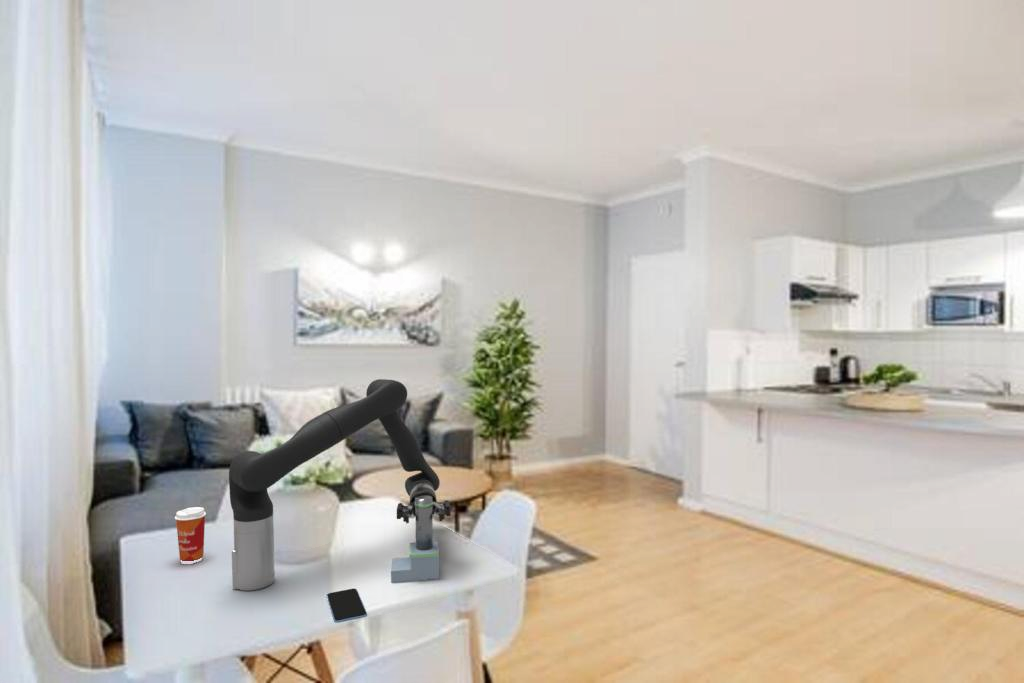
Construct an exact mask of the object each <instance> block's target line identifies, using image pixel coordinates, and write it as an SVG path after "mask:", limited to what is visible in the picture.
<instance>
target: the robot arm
mask: <svg viewBox="0 0 1024 683" xmlns="http://www.w3.org/2000/svg"><path fill="white" fill-rule="evenodd" d="M407 397H408V390H407V388H406V386H405V385H404V384H403V383H402V382H400V381H398V380H394V379H386V378H385V379H383V378H379V379H374V380H373V381H372V382H370V383H369V385H368V387H367V388H366V396H365V397H364V398H362V399H359V400H357V401H354V402H351V403H347V404H343V405H339V406H337V407H333V408H331V409H328V410H327V411H325V412H322V413H321V414H319V415H317V416H315V417H313V418H311V419H310V420H309V421H307V422H306V423H304V424H303V425H302V427H300V428H299V430H297V431H296V432H295V434H294V435H293V436H291V437H290V439H288V440H287V441H286V442H284V443H282V444H280V445H279V446H276V447H275V448H273V449H271V450H269V451H266V452H264V453H261V452H257V451H253V450H246V451H243V452H240V453H238V455H236V456H235V457H234V458H233V459H232V461H231V462H230V465H229V470H228V486H229V488H228V489H229V502H230V506H231V509H232V513H233V540H234V541H233V544H234V545H233V546H234V547H233V549H232V550H231V572H232V573H231V574H232V576H231V580H232V590H239V589H240V590H239V591H247V592H248V591H257V590H261V589H264V588H266V587H269V586H271V585H272V584H274V582H275V580H276V578H275V577H276V575H275V573H276V572H275V539H274V538H275V535H274V534H275V532H274V530H275V529H274V525H275V524H274V505H273V502H272V499H271V498H270V495H269V492H268V489H269V488H271V487H272V486H273V485H275V484H276V483H277V482H279V481H280V480H281V479H283V478H284V477H285V476H286V475H288V474H290V473H291V472H293V471H294V470H295V469H296V468H298V467H300V466H301V465H302V464H304V463H306V462H308V461H310V460H312V459H313V458H315V457H317V456H319V455H320V454H322V453H323V452H325V451H327V450H329V449H331V448H332V447H334V446H336V445H337V444H340V443H341V442H343V441H344V440H345V439H347V438H349V437H350V436H352V435H354V434H355V433H356V432H359V431H361V430H362V429H363V428H364V427H366V426H368V425H369V424H371V423H372V422H375V421H376V420H379V422H380V423H381V425H382V427H383V428H384V430H385V431H386V434H387V436H388V437H389V439H390V441H391V443H392V445H393V448H394V450H395V453H396V456H397V457H398V459H399V462H400V464H401V467H402V468H403V470H404V471H405V472H408V473H410V472H411V473H412V472H418V473H416V474H413V475H411V476H409V477H407V479H406V480H405V482H404V488H405V491H406V494H407V495H408V496H409V503H408V504H407V505H405V504H403V503H402V502H399V503H397V507H396V520H401V519H402V521H403V522H405V524H409V522H410V521H409V520H410V519H416V518H415V498H416V497H418V496H431V497H432V501H433V505H432V515H433V518H436V517H438V520H439V522H443V520H445V516H446V517H450V516H451V514H452V513H451V509H452V507H451V503H450V502H449V500H448V499H447V500H444V501H443V502H442V503H439V502H438V501H437V500H438V499H437V493H436V491H437V490H438V489H439V488H440V483H441V482H440V479H439V476H438V475H437V472H435V470H434V469H433V468H432V467H431V466H430V464H429V463H428V462H427V460H426V459H425V456H424V454H423V452H422V449H421V447H420V444H419V442H418V440H417V439H416V437H415V435H414V434H413V432H412V431H411V430H410V428H409V427H408V426H407V425H406V423H405V422H404V420H403V418H402V417H401V416H400V414H399V411H398V410H399V409H400V408H402V407H403V406H404V405H405V403H406V401H407V399H408V398H407Z"/></svg>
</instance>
